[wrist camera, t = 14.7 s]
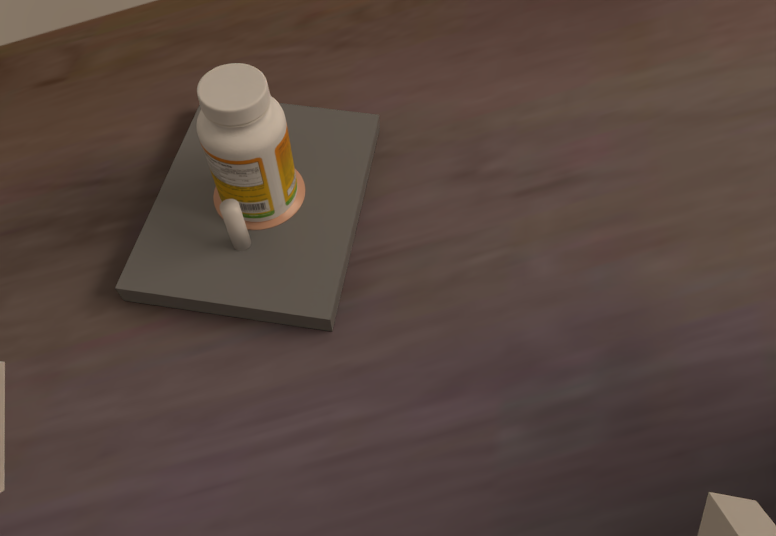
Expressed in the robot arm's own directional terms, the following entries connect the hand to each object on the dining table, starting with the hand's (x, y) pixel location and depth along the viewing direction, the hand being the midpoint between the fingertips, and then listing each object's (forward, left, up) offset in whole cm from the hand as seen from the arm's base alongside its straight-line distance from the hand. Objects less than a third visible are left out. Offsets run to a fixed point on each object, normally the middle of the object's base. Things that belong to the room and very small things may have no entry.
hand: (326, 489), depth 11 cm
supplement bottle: (+1, -26, -22) cm, 34 cm away
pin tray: (+1, -26, -24) cm, 36 cm away
